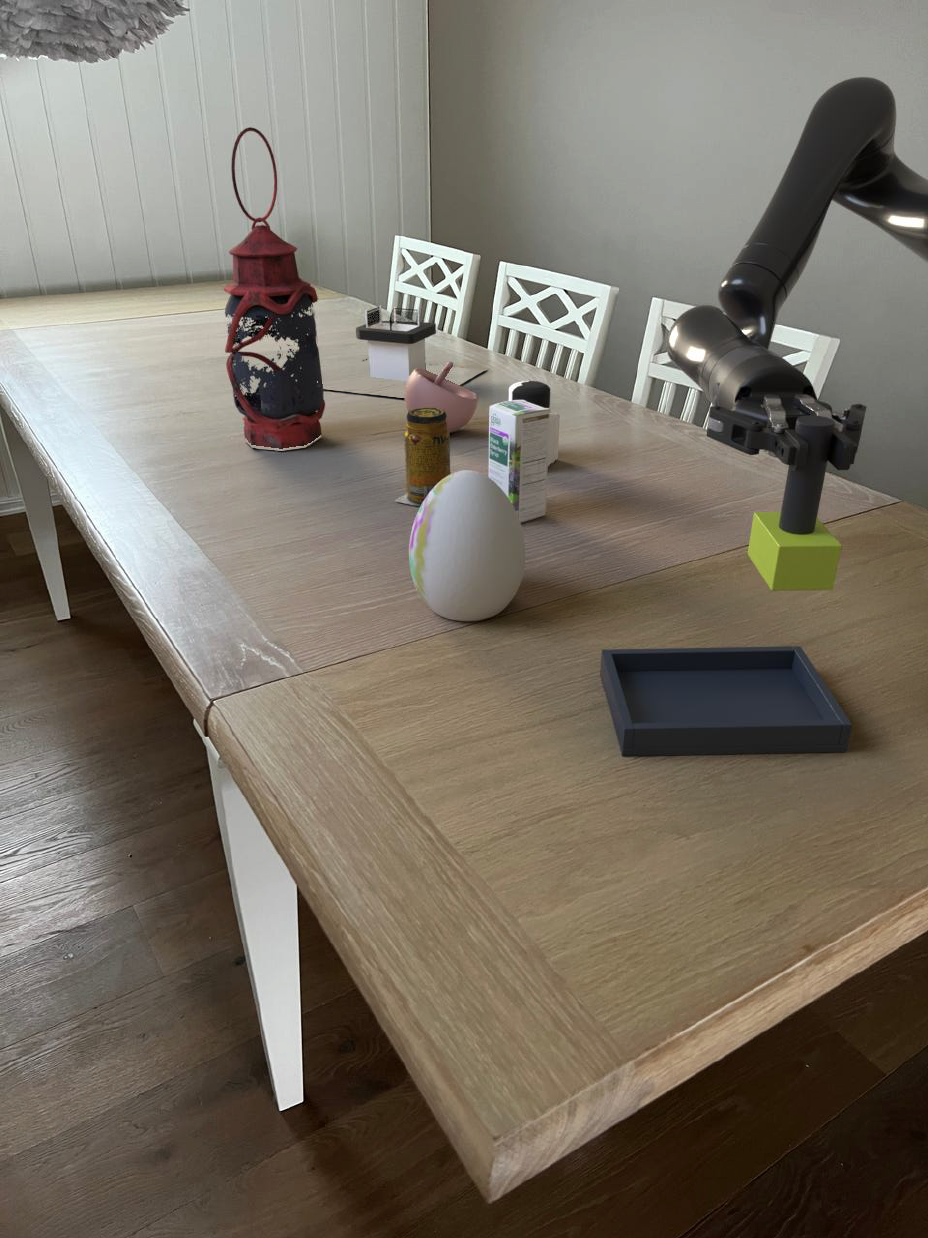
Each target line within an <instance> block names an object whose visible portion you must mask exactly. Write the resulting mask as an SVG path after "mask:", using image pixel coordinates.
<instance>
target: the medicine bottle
mask: <svg viewBox="0 0 928 1238" xmlns="http://www.w3.org/2000/svg"><path fill="white" fill-rule="evenodd" d="M511 400H525V401H526V402H529V403H532V404H535V405H538V406H541V407H543V408H548V409H550V410H551V387H550V386H549V385H548V384H546V383H544V382H542V381H537V380H521V381H517V382H515V383H513V384H511V385H510V386H509V388H508V401H511ZM560 419H561V415H560V414H559V413H555V412H550V424H549V446H548V467H549V466H551V465H552V464H553V463H555V462H556V461H557V460H558V459H559V447H560V445H559V444H560ZM555 460H556V461H555ZM551 463H552V464H551ZM550 464H551V465H550Z"/></svg>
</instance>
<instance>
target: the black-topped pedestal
mask: <svg viewBox="0 0 928 1238" xmlns="http://www.w3.org/2000/svg"><path fill="white" fill-rule="evenodd" d="M364 313H365V315H364V316H365V324H362V325H360V326H357V327H355V337H356V339H357V340H361V341H367V351H368V358H369V370H370V377H376V378H384V379H392V380H401V381H408V378H409V377H410V375H411V373H412V372H413V371H414V369H417V368H420V369H424V370H426V363H427V362H426V339H427V338H430V337H431V336H434V335H436V334H437V324H436V322H427V321H421V319H420V308H417V309H414V308H413V309H412V308H400V307H399V308H398V307H396V306H393V308H392V310H391V312H390V316H389V320H383V317H382V305H379V306H377V307H375V308H372V309H368V310H364ZM415 318H416V319H415Z"/></svg>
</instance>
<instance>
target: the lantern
mask: <svg viewBox="0 0 928 1238" xmlns="http://www.w3.org/2000/svg"><path fill="white" fill-rule="evenodd" d="M249 132H254V133H256V134H257V135H258V136H259V137H260V138H261V139H262V141H263V142H264V144H265V146H266V148H267V151H268V153H269V157H270V161H271V163H272V164H271V165H272V171H273V195H272V200H271V204H270V207H269V208H268V211H267V212H266V214H264V216H263V217H257V218H255V217H253V216H252V215H250V214H249V212H248V211H247V209H246V208H245V205H244V204H243V203H242V199H241V196H240V194H239V190H238V187H237V186H238V185H237V181H236V155H237V150H238V146H239V144H240V141H241V139H242V138H243V136H244V135H245V134H246V133H249ZM231 153H232V154H231V165H230V166H231V167H230V168H231V180H232V186H233V187H232V188H233V190H234V194H235V198H236V200H237V203H238V206H239V207H240V209H241V211H242V212H243V214H244V215H245V217H247V219H249V220H250V221H251V222H252V224H251V230H250V232H249V233H247V235H246V236H245V237H244V238H243V239H242V240H241V241H240V242H239V243H238V244H237V245H235V246H233V247H232V248H231V249H230V250H229V251H228V254H229V255H230V256H232V271H233V273H232V274H233V275H232V276H233V278H232V280H233V282H230V283H228V284H227V285H224V286H223V287H222V289H223V291H224V292H225V293H227V294H228V295H229V298H228V300H227V302H226V305H225V309H224V315H225V316H224V318H227V319H230V318H231V322H229V323H227V322H226V324H227V325H226V328H227V332H226V333H227V339H226V344H225V349H224V352H225V353H226V354H229V355H228V357H227V358H226V362H225V365H226V366H225V368H226V372H227V375H228V378H229V382H230V384H231V385H230V386H231V388H232V396H233V402H234V406H235V408H236V409H237V411H238V413H240V414H241V415H243V417H242V420H243V424H244V426H243V433H244V434H243V435H244V439H245V438H246V439H247V440H248V442H249V443H251V445H256V446H264V447H271V448H279V449H283V448H289V447H296V446H304V445H307V444H308V443H311V442H312V441H314V440H315V439H316V438H318V437H319V436H320V435H322V426H321V422H320V420H321V419H322V418H323V415H324V412H325V408H326V401H325V399H324V397H325V396H324V390H323V384H322V378H323V375H322V369H321V367H322V366H321V359H320V358H321V357H320V350H319V346H318V343H319V342H318V341H319V339H317V337H318V335H317V334H318V333H317V323H316V315H315V314H316V313H315V312H314V310H315V309H314V304H316V303H317V302H319V301H318V300H319V297H318V294H317V290H316V288H315V287H314V286H312V285H311V283H310V282H307V281H305V280H303V279H302V278H301V277H300V275H299V270H298V266H297V260H296V254H295V253H296V252H297V250H298V247H296V246H295V245H292V244H291V243H289V242H287V241H285V240H284V239H282V238H281V236H280V235H277V233H275V232H274V231H273V230H271V226H270V224H269V223H268V221H267V219H268V218H269V217H270V215H271V214H272V212H273V210H274V208H275V205H276V200H277V194H278V172H277V165H276V160H275V155H274V153H273V151H272V147H271V145H270V143H269V141H268V139H267V138H266V136H265V135H264V133H262V132H261V131H260V130H259V129H257V128H255V127H251V126H249V127H246V128H244V129H243V130H241V131H240V133H239V134H238V136H237V137H236V139H235V142H234V144H233V148H232V152H231ZM257 223H263V224H257ZM240 322H242V324H241V325H240ZM246 329H248V330H246ZM248 337H249V338H248ZM264 337H265V338H267V339H269V337H270V338H274V341H275V342H276V343H279V341H280V340H281V338H282V340H283V341H284V342H286V341H287V340H288V339H289V340H290V341H292V342H293V346H295V345H296V344H297V346H296V347H297V348H298V349H296V351H295V350H294V349H293V348H288V350H287V354H286V356H285V357H286V361H284V363H283V365H282V366H279V365H278V364H277V362H278V361H275V358H274V357H273V358H271V359H270V358H268V357H267V356H265V355H263V354H261V353H257V352H253V351H241V350H242V349H243V348H245V347H247V346H249V345H250V346H251V345H252V344H254V343H256V342H258V341H260V342H262V340H263V339H264ZM245 339H246V340H245ZM286 346H287V347H291V344H286ZM279 349H280V350H282V347H281V345H279ZM280 350H278V351H277V353H276V356H278V357H277V359H278V360H280V359H281V358H282V353H280ZM288 354H289V355H288ZM291 354H292V355H293V356H292V355H291ZM244 357H250V358H255V359H257V360H260V361H261V362H263V363H264V364H263V365H264V366H263V367H261V368H260V369H258V367H257V366H258V365H259V363H257V364H253V365H251V366H249V365H250V362H249V361H250V360H249V359H248V360H247V361H245V358H244ZM269 368H270V370H269ZM251 377H254V380H259V382H258V383H257V387H256V389H254V391H253V392H252V391H251V390H253V388H252V386H251V384H252V383H254V380H253V379H252V378H251ZM317 381H318V383H317ZM251 382H252V383H251ZM244 389H246V392H244Z"/></svg>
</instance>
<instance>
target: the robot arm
mask: <svg viewBox="0 0 928 1238" xmlns="http://www.w3.org/2000/svg"><path fill="white" fill-rule="evenodd" d="M896 127H897V105H896V98H895V95H894V93H893V91H892V89H891V88H890V86H889V85H888V84H886V83H885V82H884V81H882V80H880V79H878V78H874V77H869V76H858V77H852V78H848V79H847V78H846V79H844V80H842V81H840V82H838V83H836V84H834V85H832V86H831V87H830V88H828V89H827V90H826V91H825V92H823V94H822V95H821V96H820V97H819V98H818V99H817V100H816V102H815V103H814V105H813V107H812V109H811V110H810V113H809V114H808V117H807V120H806V122H805V125H804V127H803V130H802V132H801V134H800V137H799V140H798V143H797V145H796V147H795V149H794V151H793V154H792V156H791V158H790V160H789V162H788V165H787V167H786V169H785V171H784V173H783V175H782V177H781V179H780V182H779V184H778V185H777V188H776V189H775V192H774V193H773V195H772V197H771V199H770V201H769V203H768V205H767V207H766V208H765V210H764V212H763V214H762V216H761V217H760V219H759V221H758V223H757V224H756V226H755V228H754V229H753V231H752V233H751V235H750V236H749V238H748V239H747V240H746V242H745V244H744V245H743V247H742V248H741V250H740V252H739V253H738V255H737V256H736V258H735V259H734V261H733V262H732V264H731V266H730V267H729V268H728V270H727V272H726V273H725V275H724V276H723V278H722V280H721V282H720V283H719V286H718V290H717V299H718V302H719V304H720V307H721V309H720V308H719V307H717V306H715V305H713V304H701V305H696V306H694V307H691V308H689V309H687V310H686V311H684V312H683V313H681V314H680V315H679V316H678V317H677V318H676V319H675V321H674V322H673V324H672V325H671V327H670V329H669V331H668V334H667V338H666V344H665V345H666V354H667V356H668V358H669V359H670V361H671V362H672V363H673V364H674V365H675V366H676V367H677V368H678V369H679V370H681V371H682V372H683V374H685V375H686V376H687V377H688V378H689V379H690V380H691V381H692V382H693V383H694V384H695V385H697V386H698V388H700V389H701V391H702V392H703V394H704V395H705V397H706V398H707V400H708V401H709V402H710V403H711V404H712V406H709V410H708V411H709V412H708V418H707V427H706V435H705V436H706V437H707V438H710V439H711V440H714V441H716V442H718V443H720V444H723V445H725V446H728V447H730V448H732V449H735V450H737V451H739V452H741V453H744V454H745V455H749V456H755V455H759V454H760V451H763V452H764V453H767V455H768V456H769V457H772V458H776V459H778V460H779V461H780V462H781V463H782V464H784V465H786V466H788V467H789V466H790V468H791V469H792V470H793V471H803V470H804V469H805V465H806V460H807V454H808V443H807V442H806V441H805V440H804V439H803V438H802V437H801V436H800V435H799V434H798V433H796V432H795V427H796V421H797V418H798V417H801V416H807V415H815V416H823V417H827V418H830V419H832V420H834V421H835V426H834V431H833V436H832V441H831V446H830V452H829V457H828V462H829V464H831V465H832V467H834V468H835V470H837V471H848V470H850V468H851V465H854V464H855V459H856V454H857V453H858V449H859V445H860V441H861V437H862V431H863V426H864V421H865V417H866V411H867V408H868V407H867V406H866V405H864V404H863V403H862V404H861V403H856V404H851V406H850V407H845V408H844V409H843V411H835V410H833V407H832V406H831V405H830V404H829V403H827V402H825V401H822V400H819V399H818V397H817V394H816V391H815V389H814V386H813V384H812V382H811V381H810V379H809V378H808V377H807V376H806V375H805V374H804V373H803V372H802V371H800V370H799V369H798V368H797V367H796V366H794V365H793V364H792V363H790V362H789V361H788V360H786V359H785V358H783V356H781V355H780V354H778V353H776V352H774V351H773V350H769V349H770V345H771V342H772V337H773V334H774V330H775V327H776V324H777V320H778V316H779V313H780V311H781V309H782V307H783V305H784V303H786V300H787V299H788V298H789V296H790V294H791V293H792V291H793V289H794V288H795V286H796V285H797V283H798V281H799V279H800V278H801V276H802V274H803V273H804V271H805V268H806V267H807V264H808V263H809V260H810V258H811V256H812V253H813V251H814V249H815V246H816V244H817V241H818V239H819V236H820V233H821V230H822V227H823V224H824V221H825V219H826V216H827V213H828V210H829V209H830V205H831V203H832V202H834V203H836V204H837V205H839V206H840V207H842V208H845V210H848V211H850V212H851V213H853V214H855V215H856V216H858V217H861V218H862V219H863V220H866V221H868V222H869V223H871V224H873V225H874V226H876V227H877V228H879V229H880V230H882V231H883V232H885V233H886V234H887V235H889V236H890V237H891V238H892V239H894V240H895V241H897V242H898V243H899V244H900V245H902V246H903V247H905V248H906V249H907V250H909V251H910V252H912V253H913V254H914V255H916V256H917V257H919V258H920V259H922V260H923V261H924V263H926V264H928V179H927V178H925V177H923V176H922V175H921V174H919V173H917V172H916V171H915V170H913V169H912V168H910V167H909V166H908V165H906V164H905V163H904V161H902V159H900V158H899V157H898V155H897V154H896V152H895V147H894V146H895V137H896Z"/></svg>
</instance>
